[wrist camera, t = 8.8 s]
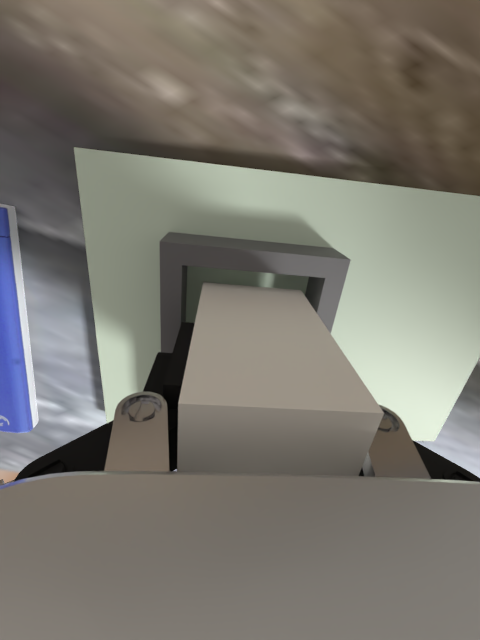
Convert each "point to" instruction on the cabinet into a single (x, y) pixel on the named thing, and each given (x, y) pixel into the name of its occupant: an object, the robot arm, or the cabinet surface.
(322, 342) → the plug
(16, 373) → the hard drive
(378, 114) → the cabinet surface
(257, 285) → the socket board
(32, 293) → the cabinet surface
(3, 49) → the cabinet surface
